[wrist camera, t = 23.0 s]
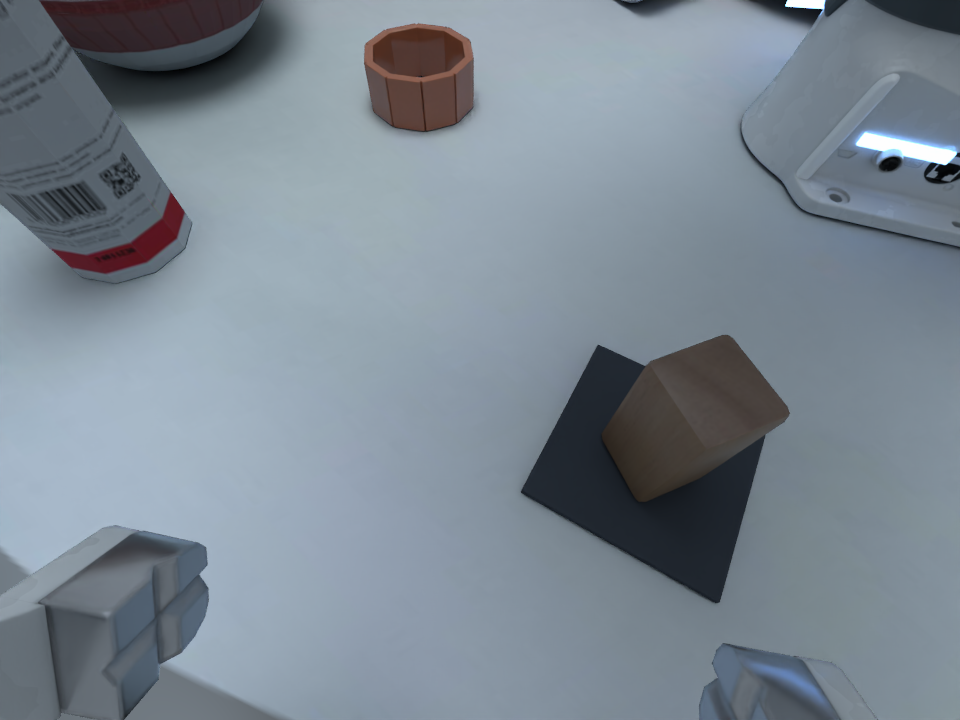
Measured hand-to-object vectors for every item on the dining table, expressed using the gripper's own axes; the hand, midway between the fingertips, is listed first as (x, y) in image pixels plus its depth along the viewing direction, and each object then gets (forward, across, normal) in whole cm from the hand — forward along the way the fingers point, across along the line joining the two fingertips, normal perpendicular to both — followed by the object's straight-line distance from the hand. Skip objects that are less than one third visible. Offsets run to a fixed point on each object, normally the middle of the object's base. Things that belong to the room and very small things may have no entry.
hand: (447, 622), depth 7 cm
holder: (+38, +11, -16) cm, 43 cm away
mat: (+17, -8, +4) cm, 20 cm away
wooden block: (+17, -8, +4) cm, 19 cm away
